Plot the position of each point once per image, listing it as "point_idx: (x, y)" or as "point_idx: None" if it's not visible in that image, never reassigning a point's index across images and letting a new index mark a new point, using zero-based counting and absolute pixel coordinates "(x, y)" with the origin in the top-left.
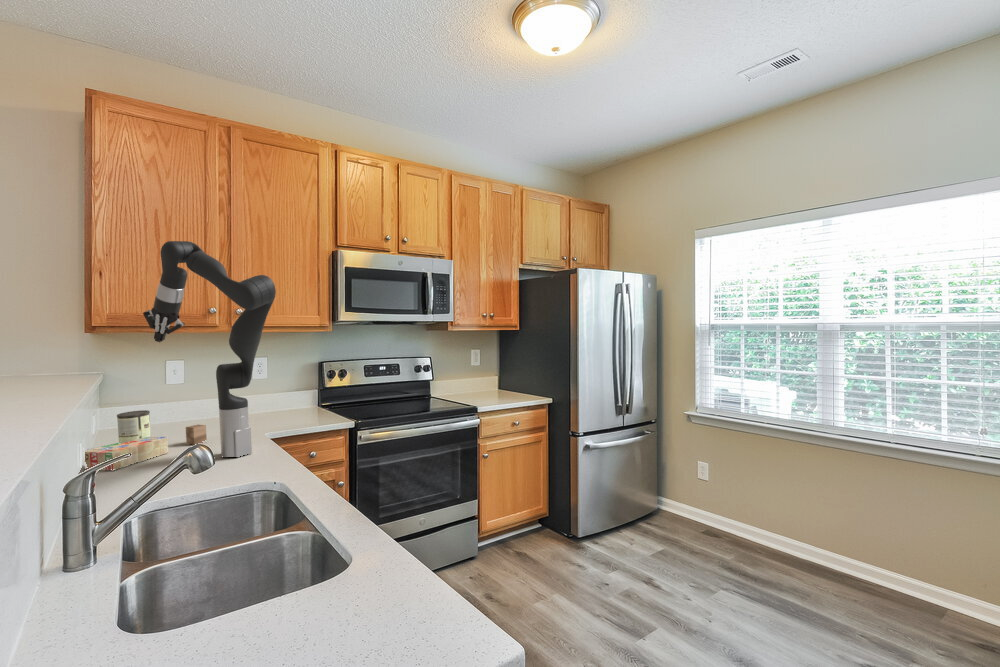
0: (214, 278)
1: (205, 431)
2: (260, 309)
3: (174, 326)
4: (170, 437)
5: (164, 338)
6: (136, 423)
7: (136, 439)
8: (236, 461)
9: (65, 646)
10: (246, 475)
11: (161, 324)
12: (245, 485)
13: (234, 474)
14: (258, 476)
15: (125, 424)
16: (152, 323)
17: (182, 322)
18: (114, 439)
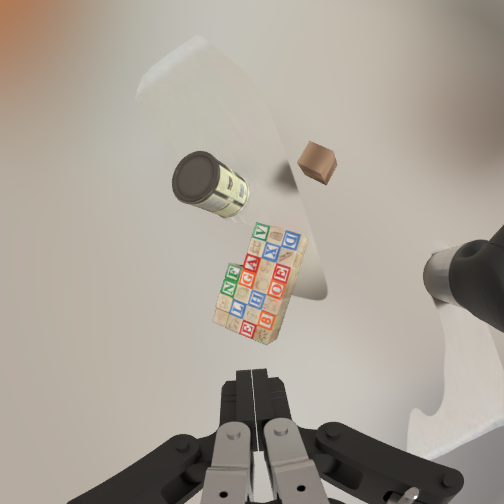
0: None
1: (334, 157)
2: None
3: (369, 479)
4: (244, 125)
5: (284, 393)
6: (217, 198)
7: (250, 245)
8: (459, 320)
9: None
10: (485, 395)
11: (251, 492)
12: (486, 431)
13: (471, 390)
14: (498, 399)
15: (202, 206)
16: (189, 495)
17: (448, 499)
18: (168, 139)
